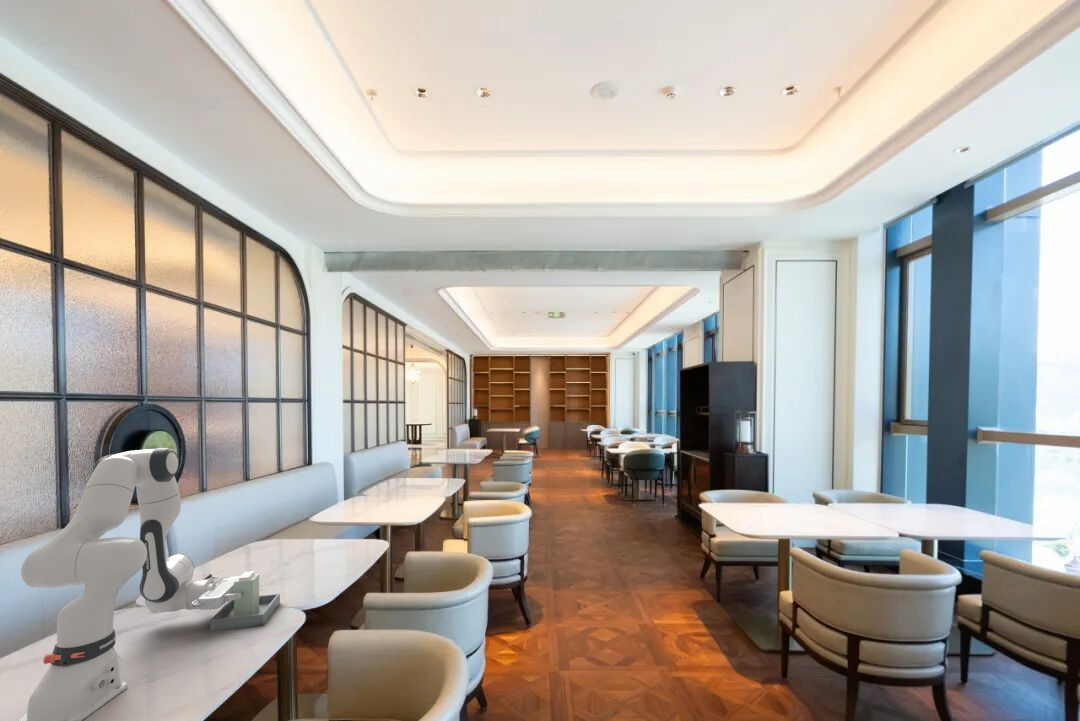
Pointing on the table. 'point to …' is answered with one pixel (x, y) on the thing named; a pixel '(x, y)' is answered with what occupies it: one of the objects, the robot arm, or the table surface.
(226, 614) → the tray
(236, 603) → the juice carton
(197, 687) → the table surface
